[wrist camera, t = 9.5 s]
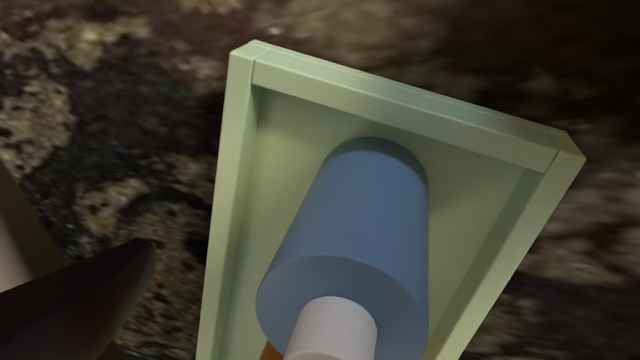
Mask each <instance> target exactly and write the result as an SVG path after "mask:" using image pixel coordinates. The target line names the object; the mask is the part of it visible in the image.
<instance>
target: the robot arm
mask: <svg viewBox="0 0 640 360" xmlns="http://www.w3.org/2000/svg"><path fill="white" fill-rule="evenodd" d="M155 261H156V246H155V244H154V243H153V242H151V241H148V240H145V239H142V238H136V239H133V240H131V241H128V242H126V243H123V244H121V245H118V246H116V247H113V248H111V249H109V250H106V251H104V252H101V253H99V254H96V255H94V256H91V257H89V258H86V259H84V260H81V261H79V262H76V263H74V264H71V265H69V266H66V267H64V268H61V269H59V270H56V271H54V272H51V273H49V274H46V275H44V276H41V277H39V278H36V279H34V280H31V281H29V282H26V283H24V284H22V285H19V286H16V287H14V288H12V289H9V290H6V291H4V292H1V293H0V360H96V359H97V358H98V356H99V355H100V354H101V352H102V351H103V350H104V348H105V347H106V346H107V345H108V344H109V342H110V341H111V340H112V338H113V337H114V336H115V334H116V333H117V332H118V330H119V329H120V327H121V326H122V324H123V323H124V321H125V319H126V318H127V316H128V315H129V313H130V311H131V310H132V308H133V307H134V305H135V303H136V302H137V300H138V299H139V297H140V295H141V294H142V292H143V291H144V289H145V287H146V286H147V284H148V283H149V281H150V279H151V278H152V276H153V274H154V271H155Z"/></svg>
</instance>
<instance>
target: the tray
mask: <svg viewBox="0 0 640 360" xmlns="http://www.w3.org/2000/svg"><path fill="white" fill-rule="evenodd" d="M361 137H379V138H384V139H388V140H391V141H393V142H396V143H398V144H400V145H402V146H403V147H405V148H406V149H408V150H409V151H410V152H411V153H412V154H414V155H415V157H416V158H417V159H418V160H419V161H420V163H421V165H422V166H423V168H424V170H425V172H426V175H427V179H428V185H429V331H428V341H427V345H426V348H425V350H424V352H423V354H422V356H421V357H420V358H419V360H458V358H459V357H460V355H461V354H462V352H463V350H464V349H465V347H466V346H467V344H468V343H469V341H470V340H471V338H472V337H473V335H474V333H475V332H476V330H477V329H478V327H479V326H480V324H481V323H482V321H483V320H484V318H485V316H486V315H487V313H488V312H489V310H490V309H491V307H492V306H493V304H494V302H495V301H496V299H497V298H498V296H499V295H500V293H501V292H502V290H503V289H504V287H505V285H506V284H507V282H508V281H509V279H510V278H511V276H512V275H513V273H514V271H515V270H516V268H517V267H518V265H519V264H520V262H521V261H522V259H523V258H524V256H525V254H526V253H527V251H528V250H529V248H530V247H531V245H532V244H533V242H534V241H535V239H536V237H537V236H538V234H539V233H540V231H541V230H542V228H543V227H544V225H545V223H546V222H547V220H548V219H549V217H550V216H551V214H552V213H553V211H554V210H555V208H556V206H557V205H558V203H559V202H560V200H561V199H562V197H563V196H564V194H565V192H566V191H567V189H568V188H569V186H570V185H571V183H572V182H573V180H574V179H575V177H576V175H577V174H578V172H579V171H580V169H581V168H582V166H583V165H584V163H585V161H586V157H585V156H584V155H583V154H582V152H581V151H580V150H579V148H578V147H577V146H576V145H575V143H574V142H573V141H572V140H571V137H570V136H569V135H568V134H567V132H566V131H563V130H559V129H556V128H552V127H549V126H546V125H542V124H539V123H536V122H532V121H529V120H525V119H522V118H519V117H515V116H512V115H508V114H505V113H502V112H498V111H495V110H492V109H488V108H485V107H481V106H478V105H475V104H471V103H468V102H464V101H461V100H458V99H454V98H451V97H448V96H444V95H441V94H437V93H434V92H431V91H427V90H424V89H420V88H417V87H414V86H410V85H407V84H404V83H400V82H397V81H393V80H390V79H387V78H383V77H380V76H377V75H373V74H370V73H366V72H363V71H360V70H356V69H353V68H349V67H346V66H343V65H339V64H336V63H333V62H329V61H326V60H322V59H319V58H316V57H312V56H309V55H305V54H302V53H299V52H295V51H292V50H289V49H285V48H282V47H278V46H275V45H272V44H268V43H265V42H261V41H258V40H253V41H251V42H249V43H248V44H246V45H243V46H241V47H239V48H237V49H235V50H233V51H231V52H230V54H229V63H228V72H227V81H226V90H225V99H224V108H223V117H222V126H221V135H220V144H219V153H218V162H217V171H216V180H215V189H214V198H213V207H212V216H211V225H210V234H209V243H208V252H207V261H206V270H205V279H204V288H203V297H202V306H201V315H200V324H199V333H198V342H197V351H196V360H259V359H260V356H261V354H262V352H263V349H264V347H265V344H266V342H267V340H268V339H267V338H266V336H265V335H264V333H263V331H262V329H261V327H260V325H259V322H258V319H257V315H256V307H255V301H256V294H257V290H258V287H259V285H260V283H261V281H262V279H263V277H264V275H265V273H266V272H267V270H268V268H269V266H270V264H271V262H272V260H273V258H274V256H275V254H276V252H277V250H278V248H279V246H280V244H281V242H282V240H283V239H284V237H285V235H286V233H287V231H288V229H289V227H290V225H291V223H292V221H293V219H294V217H295V215H296V213H297V211H298V209H299V208H300V206H301V204H302V202H303V200H304V198H305V196H306V194H307V192H308V190H309V188H310V186H311V184H312V182H313V180H314V178H315V176H316V175H317V173H318V171H319V169H320V167H321V165H322V163H323V161H324V159H325V158H326V157H327V155H328V154H329V153H330V152H331V151H332V150H333V149H334V148H336V147H337V146H339V145H340V144H342V143H344V142H346V141H349V140H351V139H355V138H361Z"/></svg>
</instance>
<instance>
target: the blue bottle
mask: <svg viewBox="0 0 640 360" xmlns="http://www.w3.org/2000/svg"><path fill="white" fill-rule="evenodd" d="M255 307H256V315H257V319H258V322H259V325H260V327H261V329H262V331H263V333H264V335H265V336H266V338H267V339H268V340H269V342H270V343H271V344H272V345H273V346H274V347H275V349H276V350H277V351H278V352H280V353H281V354H282V355H283V356H284V358H283V360H419V358H420V357H421V356H422V354H423V352H424V350H425V348H426V345H427V341H428V331H429V185H428V179H427V175H426V172H425V170H424V168H423V166H422V165H421V163H420V161H419V160H418V159H417V158H416V157H415V155H414V154H412V153H411V152H410V151H409V150H408V149H406V148H405V147H403V146H402V145H400V144H398V143H396V142H393V141H391V140H388V139H384V138H379V137H361V138H355V139H351V140H349V141H346V142H344V143H342V144H340V145H339V146H337V147H336V148H334V149H333V150H332V151H331V152H330V153H329V154H328V155H327V157H326V158H325V159H324V161H323V163H322V165H321V167H320V169H319V171H318V173H317V175H316V176H315V178H314V180H313V182H312V184H311V186H310V188H309V190H308V192H307V194H306V196H305V198H304V200H303V202H302V204H301V206H300V208H299V209H298V211H297V213H296V215H295V217H294V219H293V221H292V223H291V225H290V227H289V229H288V231H287V233H286V235H285V237H284V239H283V240H282V242H281V244H280V246H279V248H278V250H277V252H276V254H275V256H274V258H273V260H272V262H271V264H270V266H269V268H268V270H267V272H266V273H265V275H264V277H263V279H262V281H261V283H260V285H259V287H258V290H257V294H256V301H255Z"/></svg>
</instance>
